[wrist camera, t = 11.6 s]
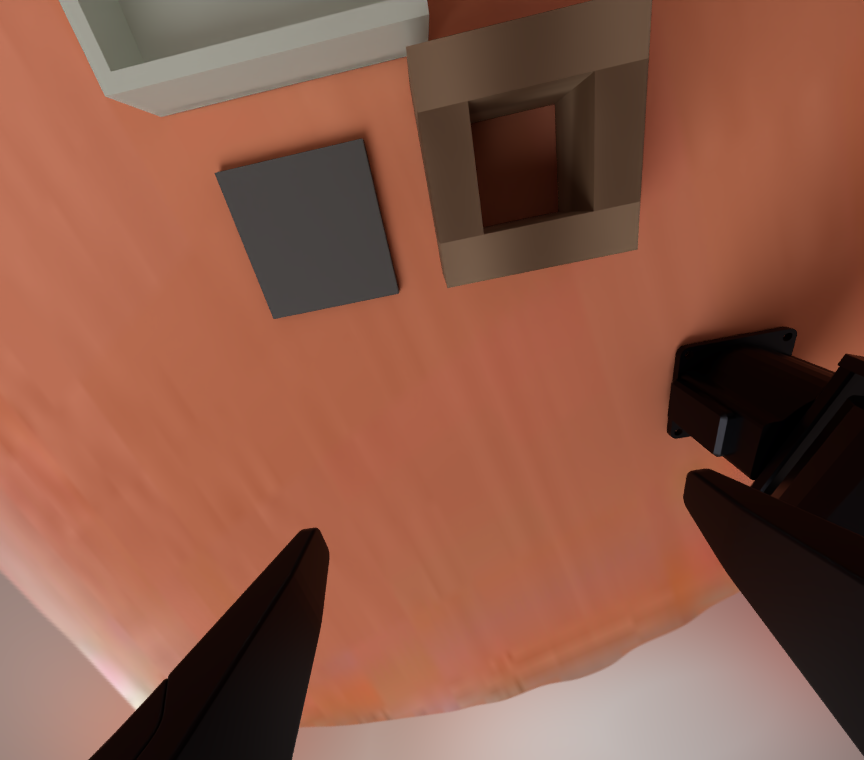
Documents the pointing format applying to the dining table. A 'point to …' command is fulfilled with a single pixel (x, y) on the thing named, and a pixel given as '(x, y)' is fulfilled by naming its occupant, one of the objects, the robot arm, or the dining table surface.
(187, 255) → the dining table surface
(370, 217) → the mat
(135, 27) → the tray
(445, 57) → the brown hollow block
